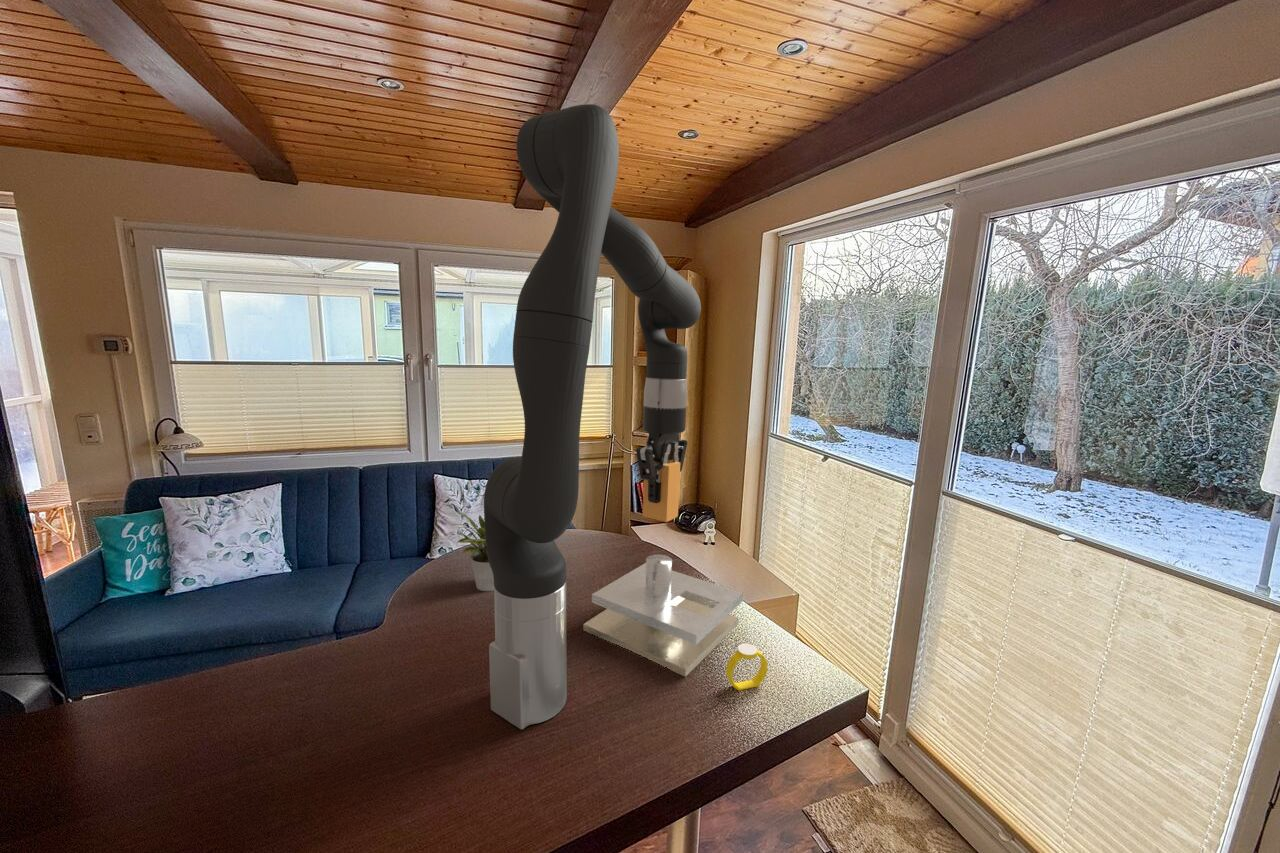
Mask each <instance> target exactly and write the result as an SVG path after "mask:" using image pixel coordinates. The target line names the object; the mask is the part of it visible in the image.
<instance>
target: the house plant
mask: <svg viewBox="0 0 1280 853" xmlns="http://www.w3.org/2000/svg"><path fill="white" fill-rule="evenodd" d="M455 513H456V514H459V515H461V516H462V517H465V519H467V521H468V522H469V523H470V524H471V526H472V527H473V528H474V529H473V528H472V527H470V526H468V525H466V524H463V523H462V524H461V523H454V524H452V526H458V527H457V529H458V528H459V529H460V528H463V529H465V530H467V531H468V532H469V533H470V534H471V536H472V537H473V538H470V537H468V536H467V535H466V534H464V533H461V532H458V531H457V532H455V533H457V534H460V536H463V538H461V539H459V540H458V541H457V542H456V544H458V543H459V544H460V545H459V547H461V546H462V547H463V546H466V548H464V550H462V554H465V553H467V552H469V551H470V552H469V556H468V558H469V559H470V563H471V568H472V572H473V577H474V582H475V587H476V589H477V590H479V591H482V592H494V578H493V572H492V569H491V567H490V564H489V561H488V557H487V548H486V534H485V520H484V518H483V517H482V515H480V514H479V516H478V524H479V527H478V526H477V525H476V524H475V521H473V519H472V518H470V517H469V516H468V515H467V514H465V513H462V512H458V511H455ZM459 526H461V527H459ZM462 526H465V527H462ZM470 529H471V530H472V531H473V532H474V533H476V535H478V537H479V538H477V536H476V535H475V534H474V533H473V532H472V531H471V530H470ZM462 543H463V544H462ZM466 543H470V545H472V546H470V545H468V544H467V545H466Z"/></svg>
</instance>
